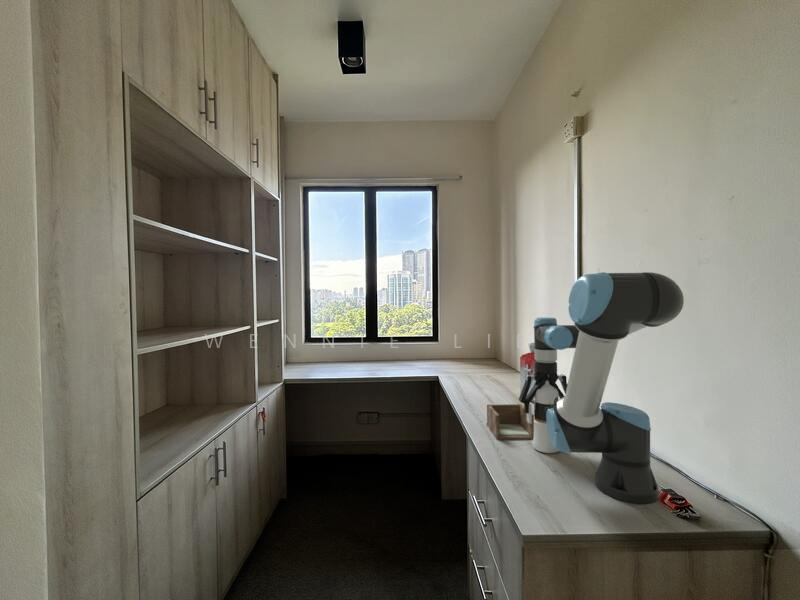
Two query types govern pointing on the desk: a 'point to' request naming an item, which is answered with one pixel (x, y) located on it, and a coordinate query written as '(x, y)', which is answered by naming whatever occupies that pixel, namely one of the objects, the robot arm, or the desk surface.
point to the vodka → (544, 417)
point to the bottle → (527, 368)
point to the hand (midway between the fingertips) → (546, 421)
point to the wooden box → (509, 422)
